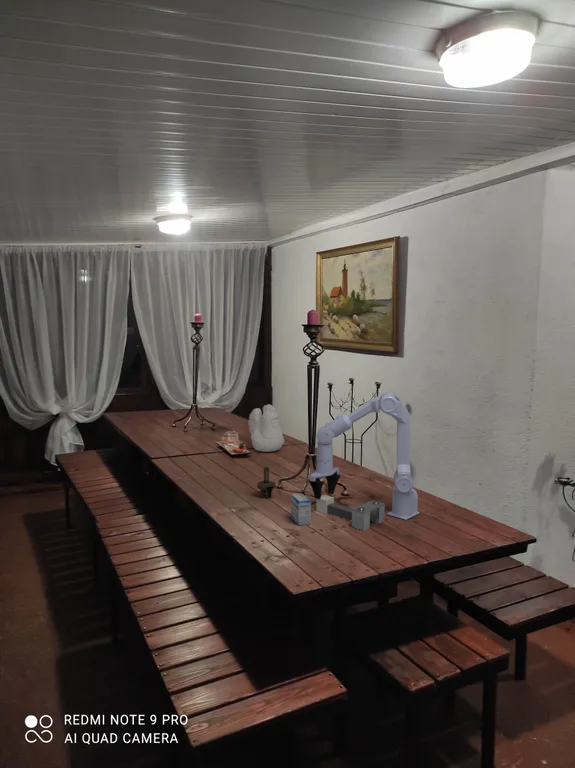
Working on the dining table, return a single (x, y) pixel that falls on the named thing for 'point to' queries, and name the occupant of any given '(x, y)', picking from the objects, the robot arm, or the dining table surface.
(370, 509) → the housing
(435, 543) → the dining table surface
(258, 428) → the white lumpy sculpture
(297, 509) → the medicine box
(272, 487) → the industrial component
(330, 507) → the plug
